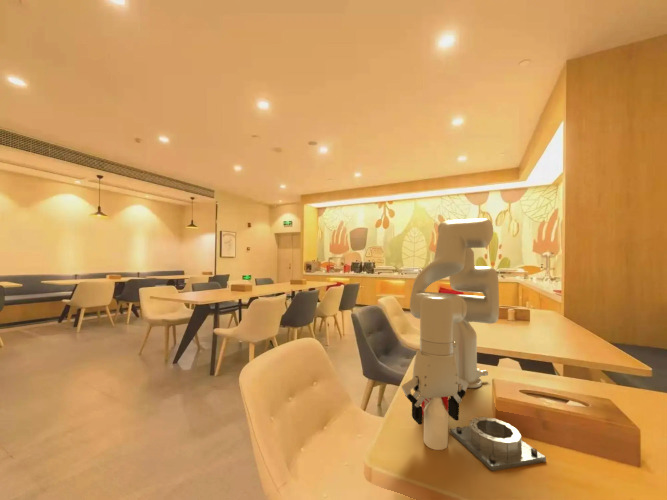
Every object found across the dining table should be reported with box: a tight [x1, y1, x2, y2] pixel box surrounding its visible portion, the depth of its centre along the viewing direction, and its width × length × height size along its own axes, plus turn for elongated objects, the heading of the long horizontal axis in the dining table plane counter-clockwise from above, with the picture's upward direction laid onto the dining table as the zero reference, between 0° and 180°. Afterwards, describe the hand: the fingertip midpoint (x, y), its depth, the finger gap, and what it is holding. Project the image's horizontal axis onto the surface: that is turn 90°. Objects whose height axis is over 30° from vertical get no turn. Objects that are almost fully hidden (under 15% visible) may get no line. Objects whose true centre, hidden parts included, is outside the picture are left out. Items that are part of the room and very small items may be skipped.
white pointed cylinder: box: [423, 397, 450, 451], centre depth 70 cm, size 6×12×6 cm
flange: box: [449, 416, 547, 472], centre depth 69 cm, size 14×14×4 cm
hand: (435, 419), depth 70 cm, fingers open, 9 cm apart
